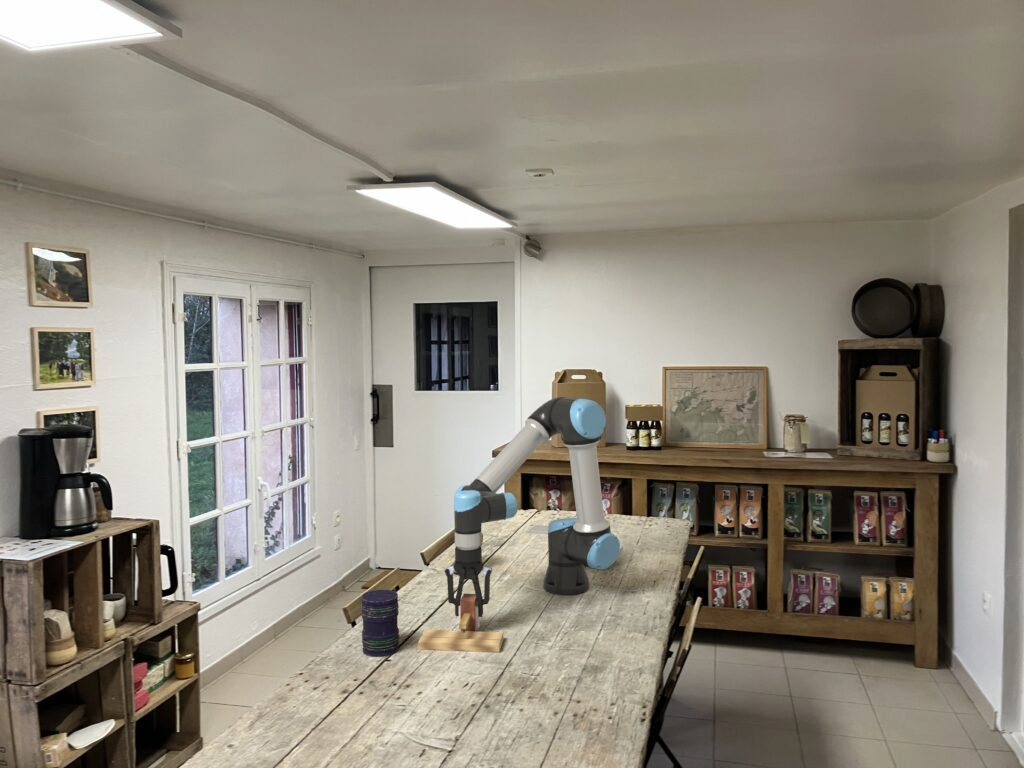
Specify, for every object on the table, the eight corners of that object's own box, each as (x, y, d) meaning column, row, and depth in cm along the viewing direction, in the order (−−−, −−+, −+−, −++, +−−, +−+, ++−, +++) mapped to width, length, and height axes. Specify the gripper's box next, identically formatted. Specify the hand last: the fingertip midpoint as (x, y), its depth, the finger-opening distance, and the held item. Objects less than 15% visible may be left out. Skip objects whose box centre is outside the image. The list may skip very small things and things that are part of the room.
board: (503, 639, 221) (503, 632, 221) (499, 652, 212) (499, 645, 212) (425, 636, 223) (425, 629, 223) (418, 649, 214) (418, 642, 214)
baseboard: (599, 540, 326) (605, 533, 337) (599, 533, 326) (605, 526, 337) (527, 535, 335) (535, 528, 347) (527, 528, 335) (535, 521, 347)
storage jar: (368, 660, 208) (367, 604, 207) (357, 647, 217) (356, 593, 216) (404, 652, 212) (403, 597, 211) (392, 640, 221) (391, 587, 220)
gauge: (478, 624, 229) (477, 593, 228) (470, 643, 215) (469, 611, 214) (464, 624, 229) (463, 593, 228) (455, 643, 215) (454, 610, 214)
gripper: (500, 543, 227) (500, 623, 228) (441, 542, 229) (442, 621, 230) (496, 550, 219) (497, 633, 221) (435, 549, 221) (436, 631, 223)
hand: (469, 627), depth 226 cm, fingers closed on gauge, 4 cm apart
